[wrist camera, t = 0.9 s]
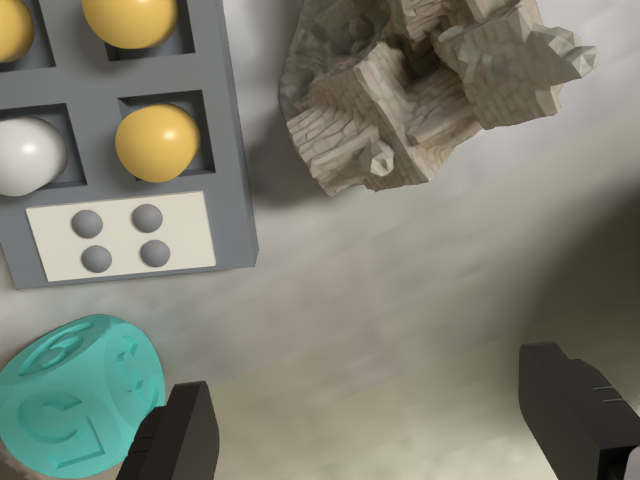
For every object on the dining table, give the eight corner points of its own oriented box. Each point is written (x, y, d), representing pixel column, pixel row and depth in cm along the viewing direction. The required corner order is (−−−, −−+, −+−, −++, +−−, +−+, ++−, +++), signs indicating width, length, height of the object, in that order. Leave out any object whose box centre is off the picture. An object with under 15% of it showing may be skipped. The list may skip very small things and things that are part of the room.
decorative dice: (86, 413, 42) (38, 494, 34) (34, 333, 39) (-32, 402, 31) (176, 384, 41) (146, 460, 33) (128, 300, 38) (85, 363, 31)
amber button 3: (126, 106, 30) (107, 112, 27) (194, 99, 30) (182, 105, 27) (141, 173, 31) (124, 185, 28) (206, 166, 31) (195, 178, 28)
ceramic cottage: (475, -165, 28) (610, -329, 14) (533, 117, 34) (665, 190, 21) (219, -50, 31) (128, -96, 17) (316, 193, 37) (307, 302, 23)
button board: (-62, -42, 30) (-111, -54, 26) (211, -70, 30) (199, -85, 26) (38, 270, 37) (10, 294, 33) (258, 249, 37) (253, 271, 33)
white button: (-10, 119, 30) (-43, 127, 27) (58, 112, 30) (32, 120, 27) (11, 185, 31) (-18, 199, 29) (76, 179, 31) (53, 192, 29)
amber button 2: (96, -28, 27) (72, -37, 24) (170, -36, 27) (154, -45, 24) (113, 51, 29) (93, 52, 26) (184, 44, 29) (171, 44, 26)
